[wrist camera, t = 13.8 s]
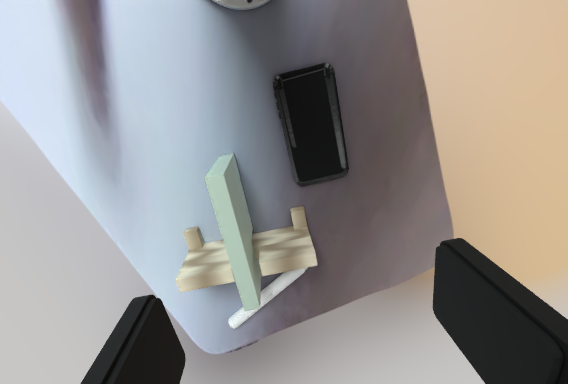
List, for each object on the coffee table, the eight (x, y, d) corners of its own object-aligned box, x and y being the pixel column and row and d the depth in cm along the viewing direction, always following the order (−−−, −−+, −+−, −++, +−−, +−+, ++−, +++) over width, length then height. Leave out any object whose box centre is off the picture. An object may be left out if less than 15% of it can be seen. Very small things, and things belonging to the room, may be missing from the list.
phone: (332, 61, 33) (349, 174, 38) (330, 62, 34) (347, 172, 39) (270, 76, 33) (295, 187, 38) (270, 77, 34) (295, 185, 39)
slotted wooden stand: (201, 272, 43) (187, 310, 36) (185, 229, 40) (167, 260, 33) (310, 250, 43) (320, 283, 36) (303, 205, 40) (311, 231, 33)
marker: (304, 251, 44) (306, 260, 41) (313, 259, 44) (315, 267, 42) (228, 315, 47) (227, 326, 45) (237, 321, 48) (236, 332, 45)
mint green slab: (261, 261, 43) (260, 308, 34) (249, 264, 43) (244, 311, 34) (233, 153, 37) (223, 174, 28) (219, 156, 37) (204, 177, 28)
